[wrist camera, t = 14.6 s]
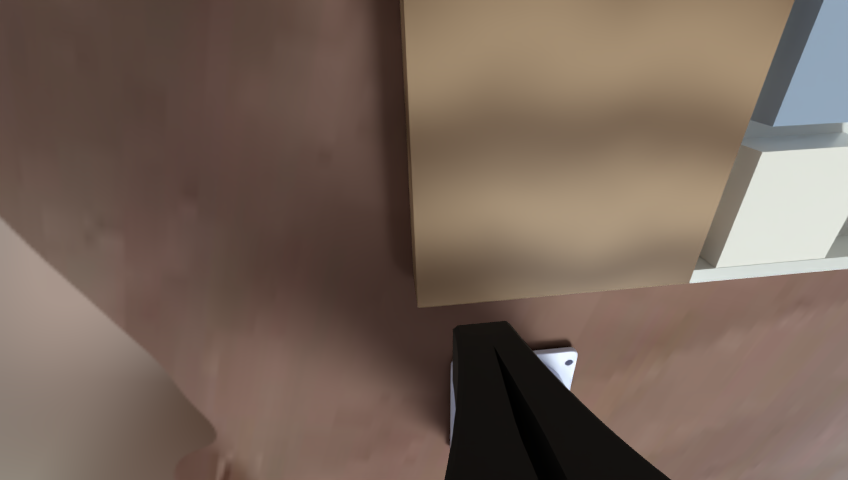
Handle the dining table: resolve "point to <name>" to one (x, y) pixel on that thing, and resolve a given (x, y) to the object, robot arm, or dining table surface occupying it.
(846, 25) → the tile blue
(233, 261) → the dining table surface
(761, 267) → the tray
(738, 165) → the tile white
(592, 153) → the board
